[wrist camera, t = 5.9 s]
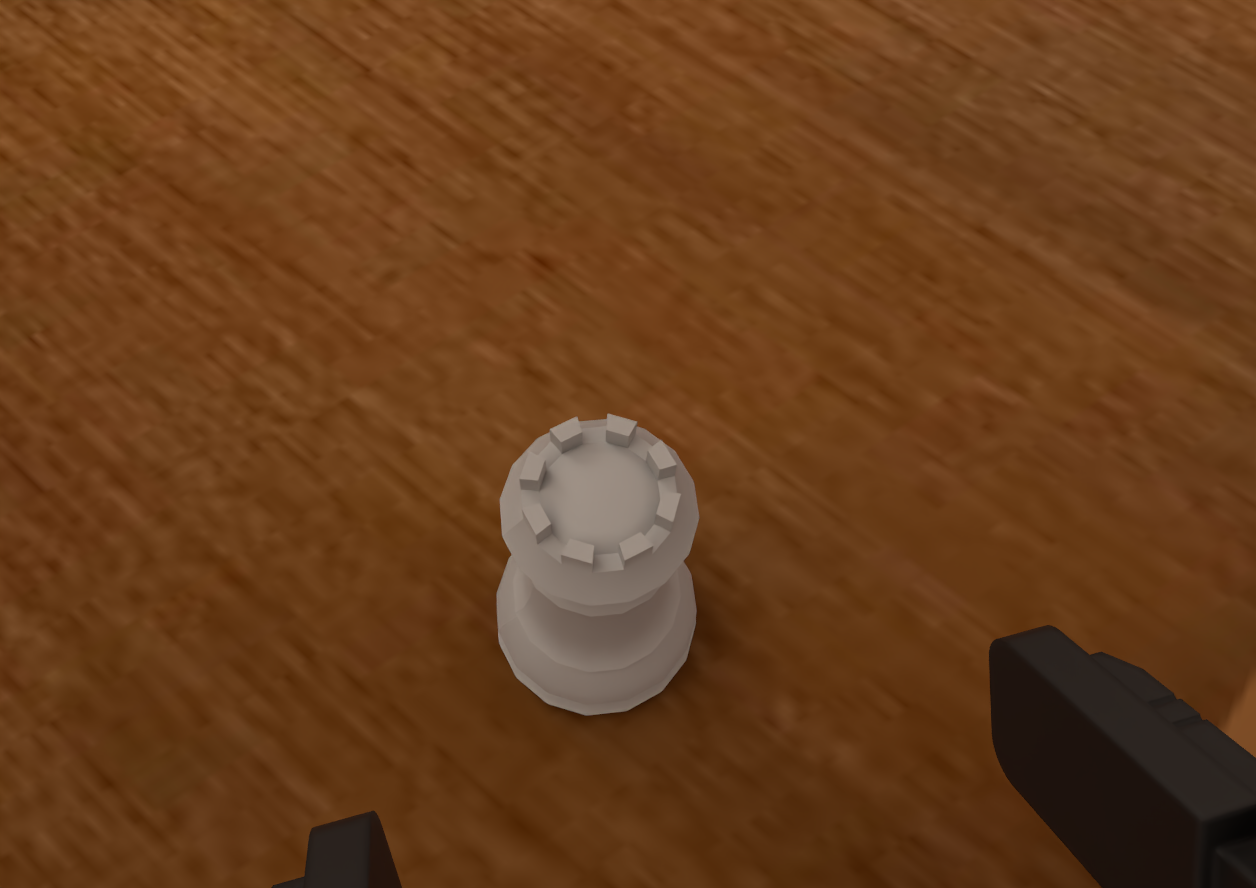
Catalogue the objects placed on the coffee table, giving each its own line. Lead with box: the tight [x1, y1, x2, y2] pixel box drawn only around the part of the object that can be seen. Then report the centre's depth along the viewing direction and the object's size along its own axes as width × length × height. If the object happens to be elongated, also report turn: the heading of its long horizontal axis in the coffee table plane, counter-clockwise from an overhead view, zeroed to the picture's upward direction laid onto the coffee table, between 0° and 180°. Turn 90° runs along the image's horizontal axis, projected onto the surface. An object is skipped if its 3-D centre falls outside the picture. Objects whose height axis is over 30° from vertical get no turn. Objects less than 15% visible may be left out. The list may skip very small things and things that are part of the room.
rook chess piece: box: [497, 414, 699, 715], centre depth 19 cm, size 4×4×8 cm
